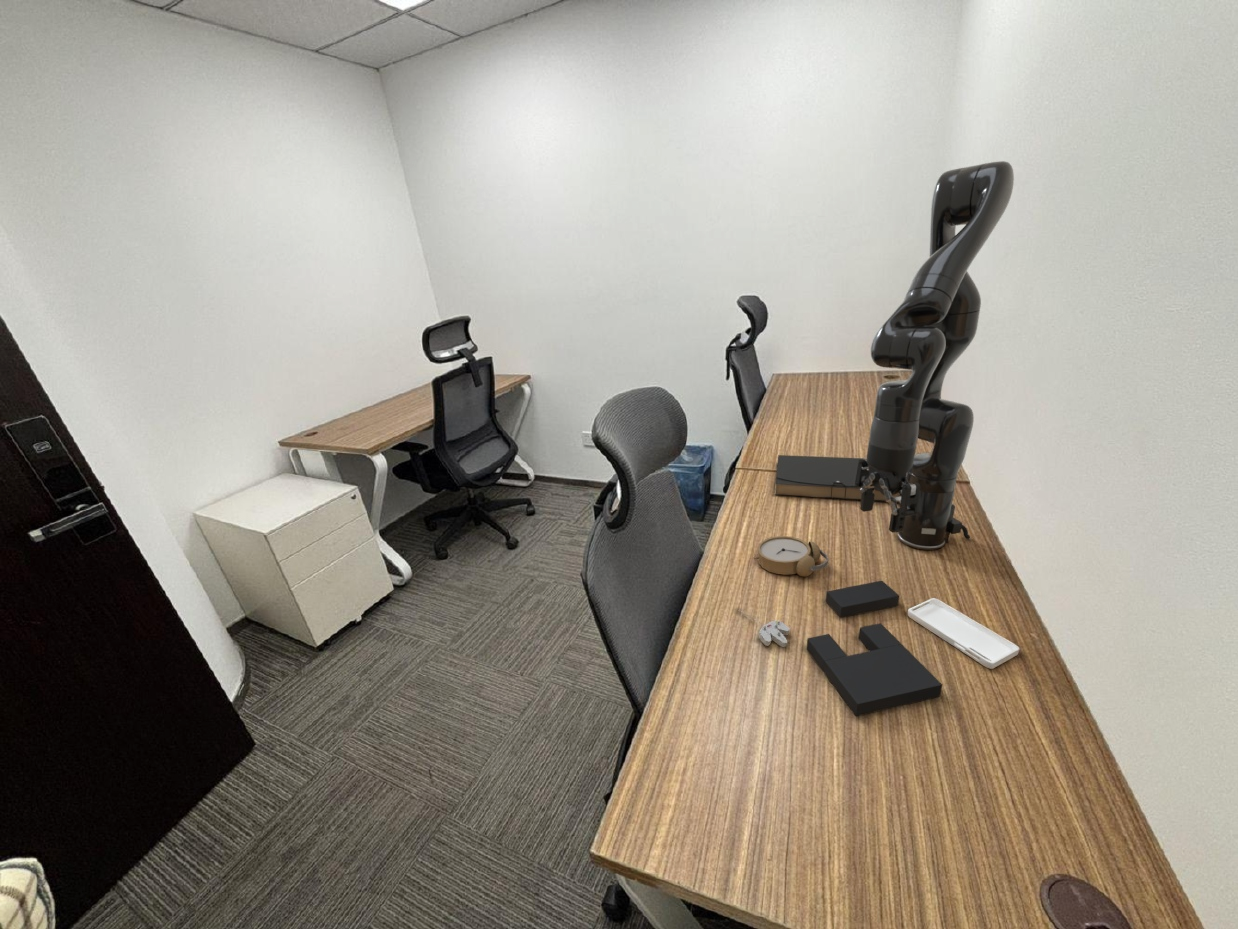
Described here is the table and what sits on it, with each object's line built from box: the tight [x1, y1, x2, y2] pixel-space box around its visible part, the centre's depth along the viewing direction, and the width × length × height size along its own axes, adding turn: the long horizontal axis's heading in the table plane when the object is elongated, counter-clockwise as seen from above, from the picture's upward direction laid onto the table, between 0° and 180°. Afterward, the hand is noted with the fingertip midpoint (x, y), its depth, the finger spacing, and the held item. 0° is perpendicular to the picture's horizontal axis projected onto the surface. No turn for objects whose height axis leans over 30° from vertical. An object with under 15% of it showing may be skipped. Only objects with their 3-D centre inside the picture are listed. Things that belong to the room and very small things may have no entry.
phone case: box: [907, 597, 1020, 670], centre depth 85 cm, size 7×1×15 cm
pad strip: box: [825, 580, 900, 618], centre depth 94 cm, size 12×5×2 cm, turn 100°
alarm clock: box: [753, 535, 829, 577], centre depth 108 cm, size 11×5×15 cm
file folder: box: [774, 454, 900, 504], centre depth 143 cm, size 33×4×24 cm
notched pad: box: [806, 622, 943, 717], centre depth 79 cm, size 14×14×2 cm
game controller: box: [739, 609, 790, 648], centre depth 90 cm, size 6×12×3 cm, turn 49°
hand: (879, 520), depth 93 cm, fingers open, 8 cm apart
